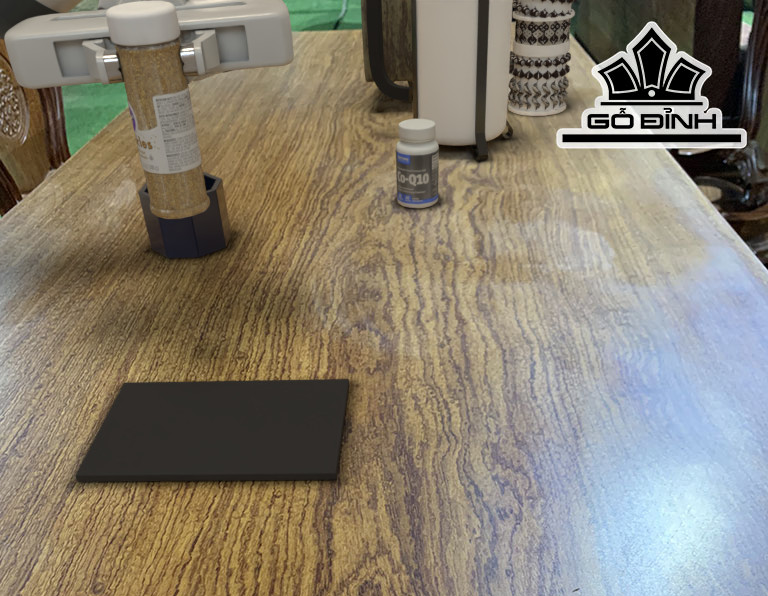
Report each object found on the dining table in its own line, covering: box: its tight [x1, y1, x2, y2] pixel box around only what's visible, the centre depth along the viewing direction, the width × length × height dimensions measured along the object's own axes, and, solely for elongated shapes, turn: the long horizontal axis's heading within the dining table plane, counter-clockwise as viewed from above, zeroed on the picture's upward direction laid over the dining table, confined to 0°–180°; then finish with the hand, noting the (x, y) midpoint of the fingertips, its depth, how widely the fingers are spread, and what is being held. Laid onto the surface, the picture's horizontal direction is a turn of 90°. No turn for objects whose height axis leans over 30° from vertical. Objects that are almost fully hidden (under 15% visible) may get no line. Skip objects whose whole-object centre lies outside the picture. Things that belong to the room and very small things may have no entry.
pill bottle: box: [395, 118, 440, 209], centre depth 91 cm, size 5×5×8 cm
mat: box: [75, 378, 350, 483], centre depth 61 cm, size 18×12×1 cm, turn 88°
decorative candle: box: [507, 0, 578, 117], centre depth 112 cm, size 9×9×25 cm
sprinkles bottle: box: [106, 1, 210, 219], centre depth 58 cm, size 5×5×13 cm
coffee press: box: [366, 0, 514, 162], centre depth 99 cm, size 17×16×30 cm
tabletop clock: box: [360, 0, 413, 112], centre depth 118 cm, size 14×9×25 cm, turn 175°
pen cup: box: [137, 171, 232, 259], centre depth 86 cm, size 8×8×6 cm
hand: (151, 66), depth 55 cm, fingers closed on sprinkles bottle, 4 cm apart
